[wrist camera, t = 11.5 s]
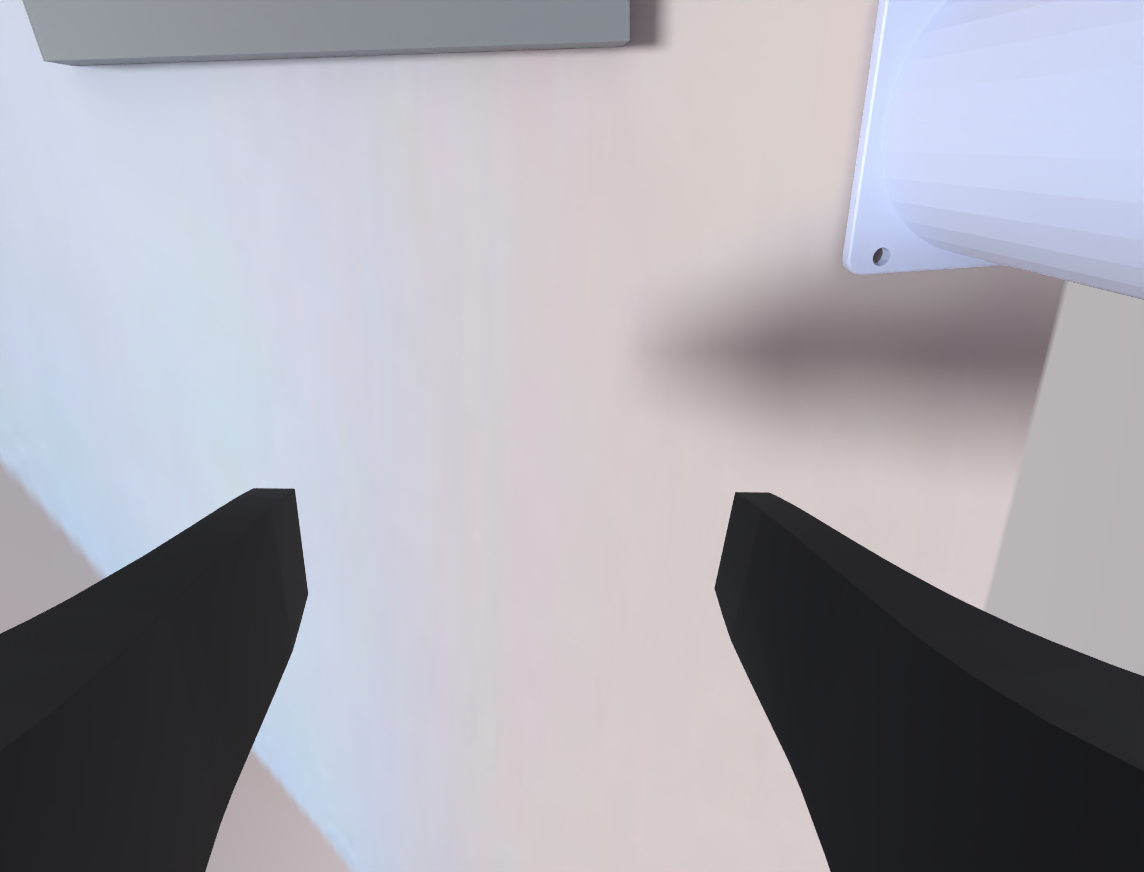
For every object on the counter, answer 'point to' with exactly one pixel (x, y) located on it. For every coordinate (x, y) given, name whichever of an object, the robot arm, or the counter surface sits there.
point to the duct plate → (314, 28)
